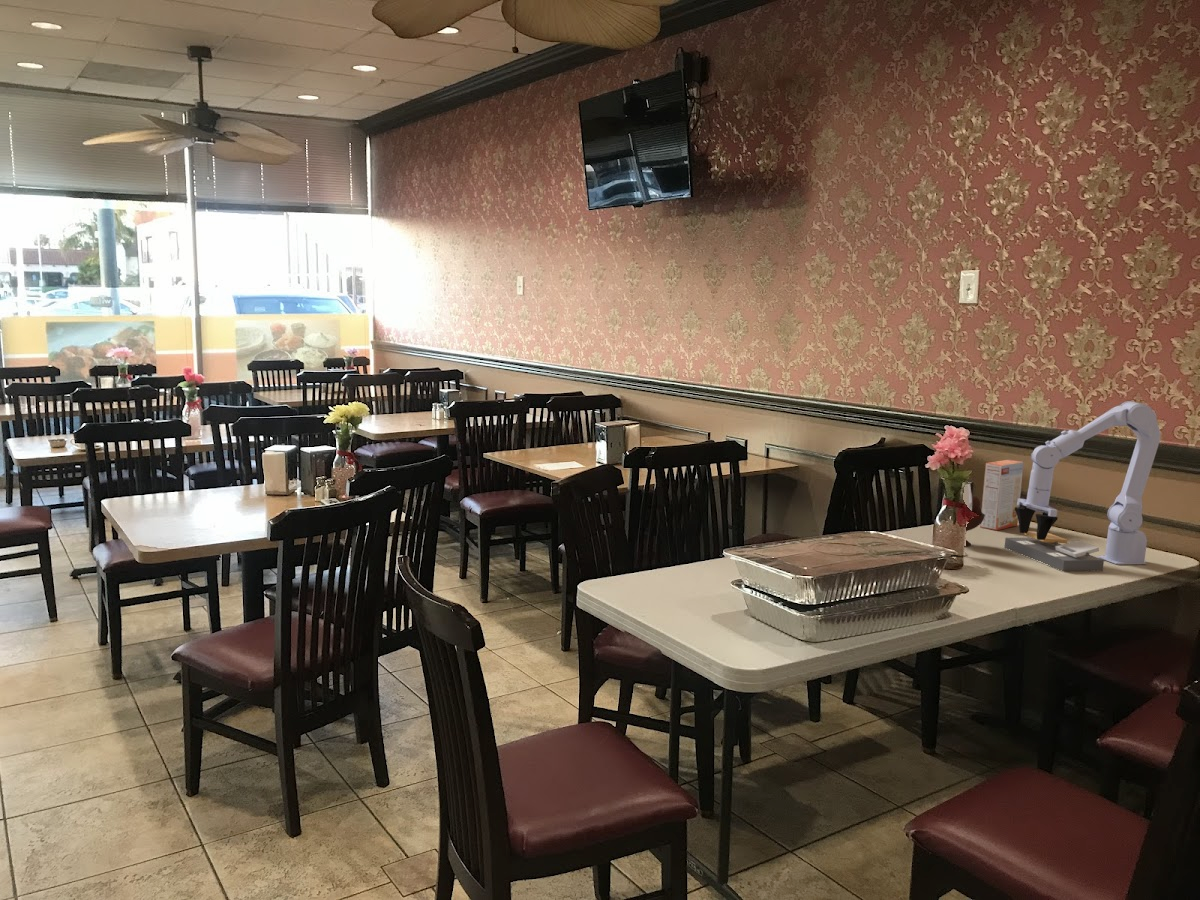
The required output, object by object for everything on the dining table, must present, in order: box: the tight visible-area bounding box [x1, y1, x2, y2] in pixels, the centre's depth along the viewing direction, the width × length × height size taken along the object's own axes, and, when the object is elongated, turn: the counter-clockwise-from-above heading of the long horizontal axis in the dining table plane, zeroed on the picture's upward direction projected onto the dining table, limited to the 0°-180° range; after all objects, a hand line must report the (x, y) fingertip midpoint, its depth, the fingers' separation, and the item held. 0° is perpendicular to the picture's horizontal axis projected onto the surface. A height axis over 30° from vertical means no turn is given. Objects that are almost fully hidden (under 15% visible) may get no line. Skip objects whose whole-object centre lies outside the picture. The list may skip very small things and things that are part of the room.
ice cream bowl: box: [966, 493, 985, 547], centre depth 275 cm, size 11×11×15 cm
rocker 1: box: [1023, 530, 1068, 545], centre depth 268 cm, size 7×9×2 cm
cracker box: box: [979, 459, 1024, 531], centre depth 301 cm, size 14×6×21 cm, turn 130°
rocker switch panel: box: [1003, 537, 1105, 572], centre depth 263 cm, size 16×25×3 cm, turn 12°
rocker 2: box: [1055, 540, 1100, 558], centre depth 256 cm, size 7×8×2 cm
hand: (1031, 536), depth 268 cm, fingers open, 7 cm apart
